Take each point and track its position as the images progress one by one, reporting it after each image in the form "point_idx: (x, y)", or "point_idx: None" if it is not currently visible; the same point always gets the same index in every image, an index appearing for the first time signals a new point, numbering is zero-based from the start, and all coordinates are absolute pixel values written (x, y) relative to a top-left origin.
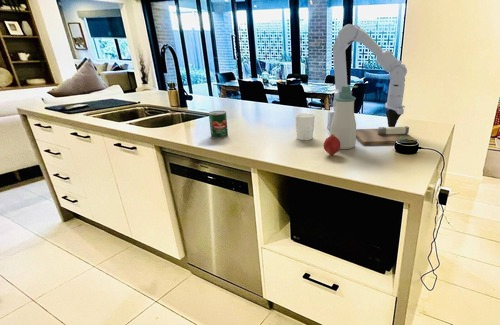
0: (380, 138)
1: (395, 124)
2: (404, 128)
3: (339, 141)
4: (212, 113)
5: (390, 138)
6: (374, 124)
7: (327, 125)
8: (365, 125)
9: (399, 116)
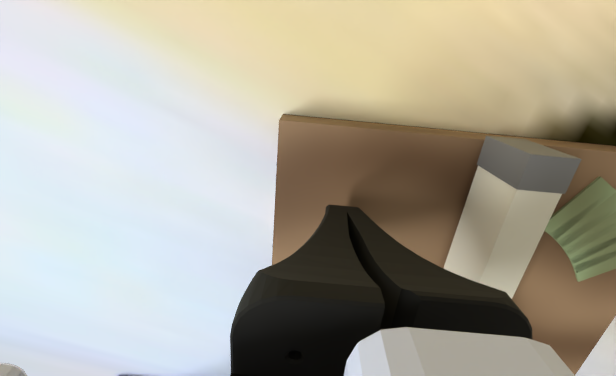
0: None
1: (370, 221)
2: (546, 203)
3: None
4: None
5: (555, 315)
6: (28, 199)
7: None
8: (73, 272)
9: (450, 277)
